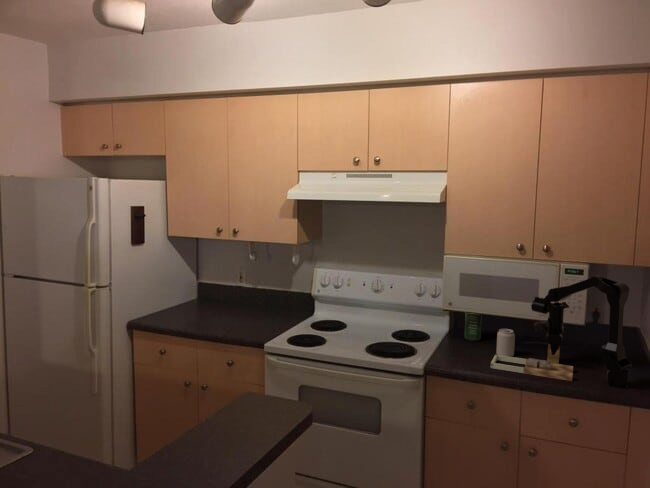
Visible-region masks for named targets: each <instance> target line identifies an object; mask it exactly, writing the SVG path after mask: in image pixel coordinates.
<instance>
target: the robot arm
mask: <svg viewBox="0 0 650 488" xmlns="http://www.w3.org/2000/svg"><path fill="white" fill-rule="evenodd" d="M592 288H597V289H598V291H600V292H601V293H603V294H605V295H606V300H607V302H608V305H609V318H608V319H609V320H608V340H607V343H606V344H603V345H602V346H601V352H602V353H601V354H600V356H601V357H602V360H603V362H604V363H605V366H606V369H607V373H606V383H608V386H611V387H614V388H615V387H617V388H623V389H628V386H629V385H628V379H629V377H628V376H629V370H630V369H631V368H632V365H633V363H632V362H631V361H630V360H629V358H628V357H627V355H626V354H627V353H626V348H625V346H624V344H623V343H624V342H623V330H624V328H623V327H624V310H625V309H624V307H625V305H626V303H627V301H628V298H629V295H630V288H629V286H628V284H625V283H624V282H618V281H617V280H613V279H609V278H607V277H604V276H603V275H594V276H592V277H590V278H587V279H584V280H581V281H578V282H576V283H572V284H570V285H565V286H564V285H563V286H558V287H554V288H550V289H549V290H548V292H547V294H546V296H545V297H541V298H539V297H540V296H538V297H537V296H535V297H534V300H533V301H532V303H531V305H530V306H531V311H532V312H535V313H539V314H543V315H547V314H548V317H547V320H542V321H537V322H534V324H533V326H534V330H535V332H536V333H537V332H541V331H546V334H545V341H546V342H547V343H549V344H550V347H551V353H552V355H555V353H556V352H557V350H558V348H559V346H560V347H561V344H562V342H563V336H564V335H563V334H564V332H565V331H564V328H565V326H564V314H565V313H564V312H565V309H568V308H570V306H569V304H567V303H566V301H565V300H566V299H568V298H570V297H571V296H572V295H575V294H577V293H580V292H583V291H586V290H589V289H592ZM561 301H563V302H561Z"/></svg>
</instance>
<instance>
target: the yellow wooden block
mask: <svg viewBox="0 0 650 488" xmlns="http://www.w3.org/2000/svg"><path fill="white" fill-rule="evenodd" d="M560 348H561V345H560V346H559V348H558V350H557V352H556V353H555V355H552V353H551V347H550V343H549V344H548V346H547V359H546V361H550V363H555V364H560V363H559V362H560V353H561V351H560Z"/></svg>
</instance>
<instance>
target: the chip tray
mask: <svg viewBox="0 0 650 488" xmlns="http://www.w3.org/2000/svg"><path fill="white" fill-rule="evenodd" d="M527 359H528V358H521V357H514V356H510V357H509V356H502V355H498V354H497V353H495V354H494V357H493V358H492V360H491V362H490V369H495V370H502V371H508V372H514V373H520V374H524V373H523V372H524V367H523V366H516V365H509V364H503V363H499V362H498V363H497V361H500V362H501V361H502V362H507V363H515V364H521V365H526V360H527Z"/></svg>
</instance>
